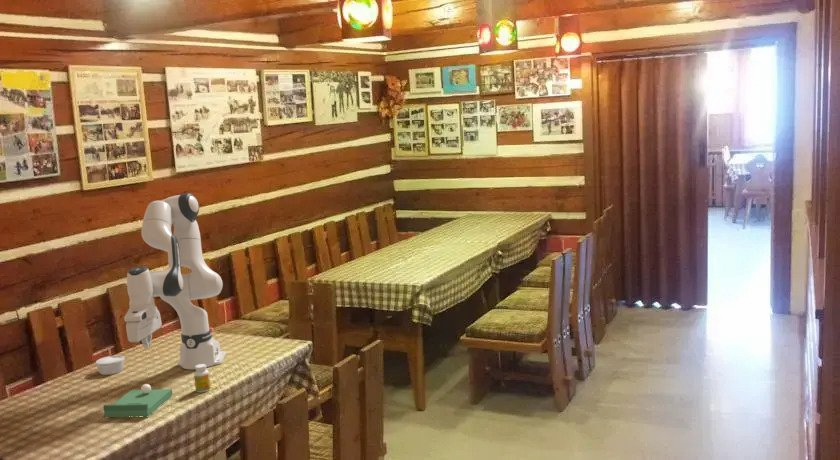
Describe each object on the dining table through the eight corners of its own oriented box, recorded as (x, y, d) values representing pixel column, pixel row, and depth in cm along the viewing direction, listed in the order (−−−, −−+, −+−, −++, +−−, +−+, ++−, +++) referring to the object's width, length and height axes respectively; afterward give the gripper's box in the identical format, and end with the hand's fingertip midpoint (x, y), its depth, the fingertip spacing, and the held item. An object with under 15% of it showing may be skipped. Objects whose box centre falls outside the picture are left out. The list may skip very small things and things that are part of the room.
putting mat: (132, 396, 288) (130, 384, 288) (172, 395, 286) (171, 384, 286) (104, 417, 269) (103, 405, 268) (148, 417, 267) (146, 404, 266)
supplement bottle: (195, 393, 287) (193, 369, 285) (196, 388, 292) (193, 364, 290) (210, 391, 288) (207, 366, 287) (210, 386, 293) (207, 362, 292)
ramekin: (130, 366, 325) (129, 354, 324) (118, 375, 314) (116, 363, 313) (105, 367, 326) (104, 355, 325) (92, 376, 315) (90, 364, 314)
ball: (144, 391, 285) (143, 382, 284) (153, 391, 284) (152, 382, 284) (139, 395, 281) (138, 386, 281) (149, 395, 281) (147, 386, 280)
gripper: (147, 303, 294) (152, 338, 296) (121, 318, 274) (126, 355, 276) (163, 303, 293) (167, 338, 295) (138, 318, 273) (142, 355, 275)
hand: (147, 346), depth 285 cm, fingers closed
